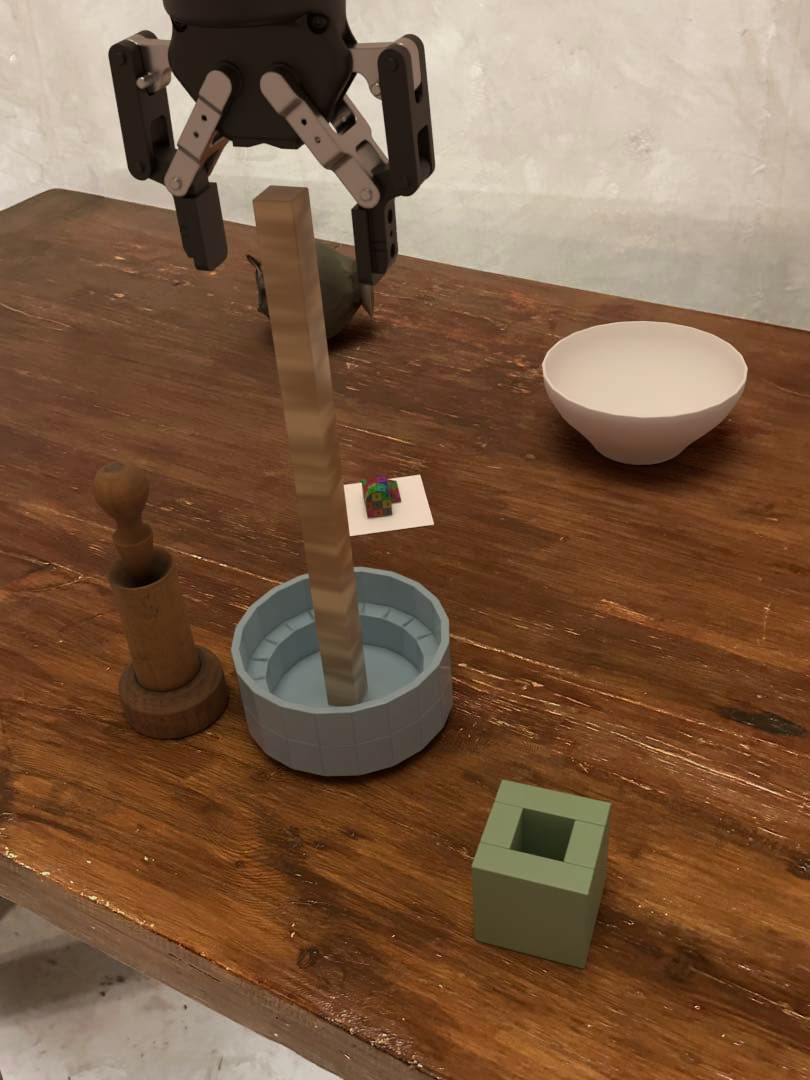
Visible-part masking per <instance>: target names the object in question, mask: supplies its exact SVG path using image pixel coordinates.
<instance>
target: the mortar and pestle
mask: <svg viewBox="0 0 810 1080" xmlns="http://www.w3.org/2000/svg"><path fill="white" fill-rule="evenodd" d="M92 493H93V497H94V500H95V502H96V503H97V505H98V506H99V507H100V508H101V509H102V511H104V512H105V513H106V514H107V515H109V516H110V517H111V518H112V519H113V520H114V521H115V524H116V529H115V531H114V532H113V533H112V536H111V539H112V542H113V545H114V547H115V549H116V550H117V553H118V554H119V555H120V556H118V557H117V558H115V559H114V561H112V562H111V564H110V566H109V567H108V569H107V580H108V582H109V587H110V590H111V592H112V596H113V599H114V602H115V606H116V608H117V612H118V616H119V618H120V622H121V625H122V629H123V633H124V636H125V639H126V643H127V646H128V650H129V654H130V657H131V661H130V662H129V663H128V664H127V665H126V666H125V667H124V669H123V670H122V672H121V674H120V676H119V679H118V683H117V689H118V696H119V700H120V703H121V706H122V711H123V714H124V717H125V720H126V721H127V723H128V724H129V725H130V727H132V729H133V730H135V731H136V732H138V733H140V734H141V735H144V736H146V737H149V738H153V739H159V740H162V739H163V740H173V739H181V738H185V737H188V736H192V735H193V734H196V733H199V732H201V731H202V730H204V729H207V727H208V726H210V725H211V724H213V723H214V722H215V721H216V720H217V719H218V718H219V717H220V716H221V714H223V711H224V710H225V708H226V706H227V703H228V699H229V687H228V683H227V680H226V676H225V672H224V667H223V664H222V662H221V660H220V659H219V657H218V656H217V655H216V653H214V652H213V651H212V650H211V649H209V648H207V647H206V646H203V645H200V644H197V643H195V640H194V635H193V632H192V627H191V624H190V619H189V615H188V611H187V607H186V603H185V602H186V601H185V598H184V594H183V590H182V585H181V581H180V577H179V572H178V567H177V563H176V559H175V557H174V555H173V553H172V552H170V551H169V550H167V548H166V549H165V548H163V547H160V546H159V547H158V546H154V530H153V528H152V527H151V525H149V524H148V523H144V521H143V516H142V515H143V512H144V510H145V507H146V505H147V501H148V498H149V495H150V483H149V479H148V477H147V476H146V474H145V472H144V471H143V470H142V468H140V467H139V466H138V465H137V464H135V463H133V462H131V461H127V460H117V461H113V462H109V463H107V464H105V465H103V466H102V467H101V468H100V469H99V470H98V471H97V472H96V474H95V476H94V478H93V481H92Z"/></svg>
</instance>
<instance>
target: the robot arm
mask: <svg viewBox="0 0 810 1080" xmlns="http://www.w3.org/2000/svg"><path fill="white" fill-rule="evenodd" d="M162 6H163V8H164V10H165V12H166V14H167V16H169V18H170V22H171V38H170V39H161V38H159V37H157V35H156V34H155V33H154V32H153V31H151V30H150V29H149V30H148V29H143V30H140V31H138V32H137V33H134V34H132V35H130V36H128V37H125V38H124V39H122V40H120V41H117V42H116V43H114V44H112V45H111V46H110V47H109V48H108V51H107V57H108V63H109V69H110V74H111V80H112V86H113V91H114V97H115V103H116V108H117V115H118V119H119V125H120V131H121V137H122V143H123V150H124V154H125V160H126V166H127V170H128V172H129V173H130V175H131V176H132V177H133V178H134V179H136V180H138V181H141V182H143V181H146V180H148V179H149V180H151V181H153V182H155V183H158V184H160V185H162V186H164V187H165V188H166V190H167V191H168V192H169V194H171V196H172V199H173V203H174V208H175V214H176V219H177V224H178V227H179V234H180V240H181V244H182V248H183V250H184V252H185V253H186V256H187V257H188V258H189V259H193V260H192V261H193V265H194V267H195V269H196V270H197V271H202V272H214V271H215V270H216V269H217V268H218V267H219V266H221V265H222V264H223V263H224V262H225V261H226V260H227V257H228V255H229V254H228V253H229V248H228V247H229V246H228V242H227V236H226V230H225V224H224V218H223V213H222V205H221V201H220V194H219V187H218V183H217V182H216V181H209V177H210V176H211V175H212V173H213V170H214V168H215V167H216V165H217V163H218V161H219V159H220V157H221V155H222V154H223V152H224V149H225V148H226V147H227V145H228V144H229V142H231V143H232V147H233V148H252V147H255V146H259V145H263V144H264V145H269V146H271V147H274V148H277V149H281V150H295V151H297V150H299V149H300V148H302V147H303V146H304V145H305V147H306V148H307V149H308V150H309V152H310V153H311V154H312V155H313V157H314V158H315V159H316V161H317V162H318V163H319V165H320V166H321V167H322V168H324V169H325V170H328V171H332V173H334V174H335V176H336V177H337V179H338V180H339V181H340V183H341V184H342V185H343V187H344V188H345V189H346V190H347V192H348V193H349V194H350V196H351V197H352V198H353V199H354V201H355V202H356V204H354V206H353V207H352V208H350V211H351V212H350V213H351V223H352V234H353V246H354V255H355V260H356V266H357V276H358V282H359V284H360V285H372V286H373V287H374V286H377V285H378V283H380V281H381V280H382V279H383V277H384V276H385V275H386V274H387V273H388V272H389V270H390V269H391V268H392V266H394V264H395V262H396V260H397V257H398V255H399V242H398V232H397V230H398V227H397V213H396V198H399V197H411V196H414V194H415V193H416V192H417V191H418V190H419V189H420V188H421V185H423V183H424V182H425V181H426V180H428V179H429V178H430V177H431V176H432V175H433V173H434V172H435V169H436V157H435V155H436V154H435V146H434V144H435V143H434V135H433V125H432V124H433V123H432V115H431V114H432V113H431V103H430V93H429V82H428V74H427V72H428V71H427V61H426V50H425V45H424V43H423V41H422V39H421V38H420V37H419V36H418V35H416V34H414V33H406V34H404V35H402V36H401V37H399V38H397V39H395V40H394V41H382V42H379V41H377V42H358V41H357V39H356V37H355V35H354V34H353V32H352V29H351V26H350V25H349V21H348V18H347V0H162ZM172 74H173V76H174V77H175V78H176V80H177V81H178V82H179V84H180V85H181V87H183V89H184V90H185V91H186V93H187V94H188V95H189V96H190V98H191V99H192V100H193V101H194V103H195V104H194V106H193V108H192V110H191V112H190V115H189V117H188V119H187V121H186V123H185V125H184V127H183V129H182V130H181V131H182V132H181V134H180V136H179V138H178V140H177V142H176V145H175V137H174V129H173V125H172V124H173V123H172V118H171V111H170V110H171V109H170V104H169V97H168V91H167V87H168V86H169V85H170V83H171V81H172ZM358 74H359V75H361V76H362V77H363V79H365V80H366V83H367V86H368V89H369V92H370V93H371V95H372V96H373V97H374V98H375V99H377V100H379V101H381V108H382V116H383V124H384V133H385V142H386V143H385V144H386V151H387V155H385V154H386V153H384V152H383V150H382V149H381V147H380V146H379V145H378V143H377V142H376V141H375V140H374V138H373V134H372V133H373V132H372V128H371V126H370V124H369V123H368V121H367V120H366V118H365V117H364V116H363V114H362V113H361V112H360V110H359V109H358V108H357V106H356V105H355V103H354V102H353V101H352V100H351V98H350V97H349V95H348V94H347V93H348V91H349V90H350V88H351V86H352V84H353V82H354V80H355V79H356V77H357V75H358ZM330 124H331V125H332V127H333V128H332V127H331V125H330ZM176 146H177V148H176ZM0 1080H4V1078H3V1074H2V1071H1V1070H0Z"/></svg>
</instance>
